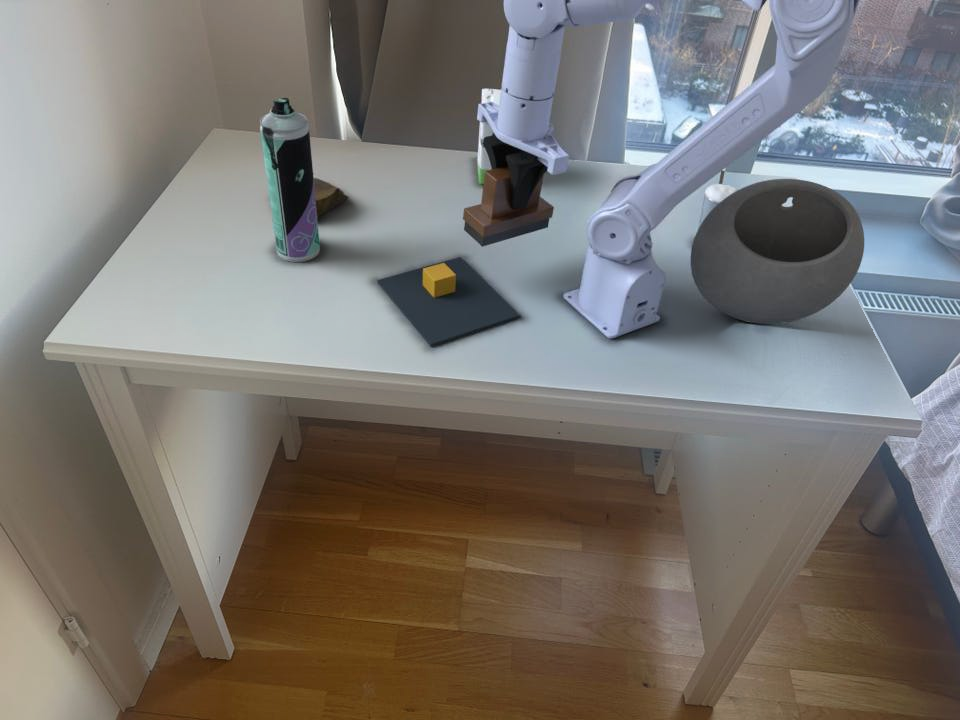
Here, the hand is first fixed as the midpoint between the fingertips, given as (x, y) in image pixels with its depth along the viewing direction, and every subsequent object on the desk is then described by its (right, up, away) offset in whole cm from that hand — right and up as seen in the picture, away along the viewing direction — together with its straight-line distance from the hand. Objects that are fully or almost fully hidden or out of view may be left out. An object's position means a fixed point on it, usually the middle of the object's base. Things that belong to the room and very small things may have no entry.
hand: (511, 201), depth 89 cm
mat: (-8, -12, +2) cm, 14 cm away
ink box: (-2, +10, +28) cm, 30 cm away
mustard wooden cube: (-9, -10, +3) cm, 14 cm away
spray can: (-27, -5, +8) cm, 29 cm away
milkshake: (+28, -3, +15) cm, 32 cm away
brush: (0, -3, +3) cm, 4 cm away
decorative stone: (-28, +3, +17) cm, 33 cm away
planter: (+29, -14, +3) cm, 33 cm away
